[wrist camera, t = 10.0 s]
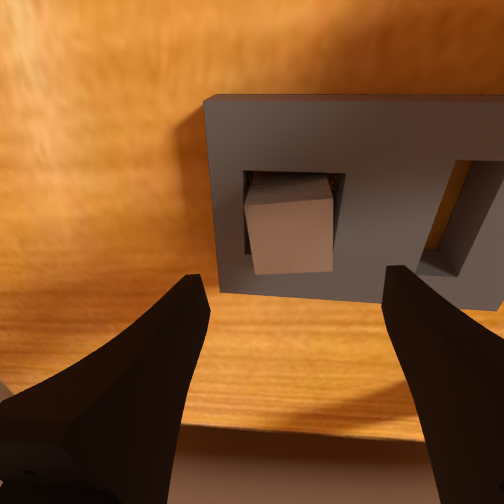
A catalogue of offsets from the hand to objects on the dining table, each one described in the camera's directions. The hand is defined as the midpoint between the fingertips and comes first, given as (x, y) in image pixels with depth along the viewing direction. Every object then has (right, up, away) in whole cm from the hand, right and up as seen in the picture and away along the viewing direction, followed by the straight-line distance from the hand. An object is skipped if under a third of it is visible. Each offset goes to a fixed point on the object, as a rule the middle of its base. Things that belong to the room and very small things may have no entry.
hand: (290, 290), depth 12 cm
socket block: (+6, +5, +7) cm, 10 cm away
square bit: (+1, +5, +8) cm, 9 cm away
